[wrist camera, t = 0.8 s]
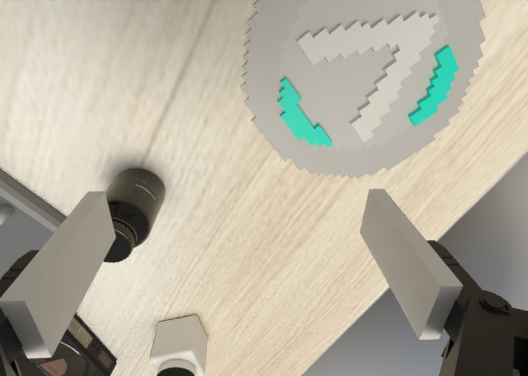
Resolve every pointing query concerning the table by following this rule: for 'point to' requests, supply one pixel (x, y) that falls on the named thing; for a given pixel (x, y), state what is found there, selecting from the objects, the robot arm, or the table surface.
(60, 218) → the pin tray
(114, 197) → the supplement bottle
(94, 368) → the portable cd player
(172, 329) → the medicine bottle
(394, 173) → the table surface
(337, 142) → the grey symbol plate
